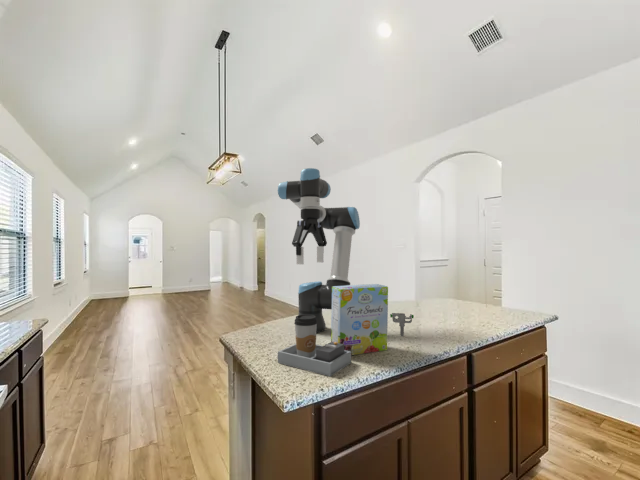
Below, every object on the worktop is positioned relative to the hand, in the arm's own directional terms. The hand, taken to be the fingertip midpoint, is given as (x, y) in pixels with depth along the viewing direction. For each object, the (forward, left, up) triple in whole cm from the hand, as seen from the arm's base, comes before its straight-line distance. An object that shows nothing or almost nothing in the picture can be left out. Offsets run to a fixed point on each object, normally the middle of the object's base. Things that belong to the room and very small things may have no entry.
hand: (310, 263), depth 126 cm
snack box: (+15, +12, -35) cm, 40 cm away
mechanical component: (+22, +41, -35) cm, 58 cm away
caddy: (+7, -8, -35) cm, 36 cm away
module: (+14, -8, -35) cm, 38 cm away
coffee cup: (+3, -8, -34) cm, 35 cm away
